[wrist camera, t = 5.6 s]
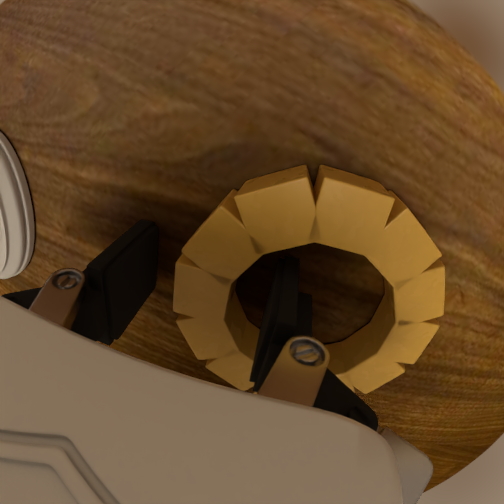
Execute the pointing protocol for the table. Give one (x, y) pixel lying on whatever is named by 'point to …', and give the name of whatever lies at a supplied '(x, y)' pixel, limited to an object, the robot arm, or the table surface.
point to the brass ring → (301, 233)
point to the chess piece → (14, 214)
